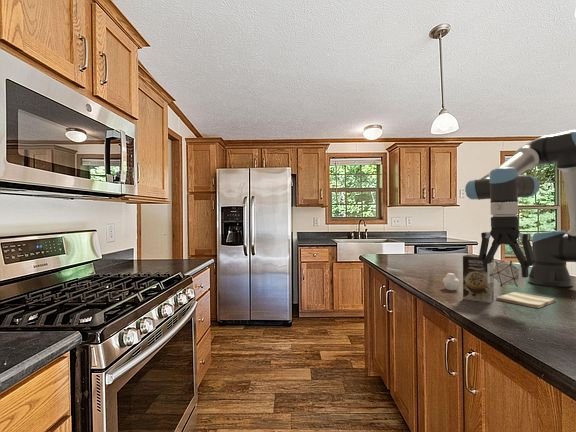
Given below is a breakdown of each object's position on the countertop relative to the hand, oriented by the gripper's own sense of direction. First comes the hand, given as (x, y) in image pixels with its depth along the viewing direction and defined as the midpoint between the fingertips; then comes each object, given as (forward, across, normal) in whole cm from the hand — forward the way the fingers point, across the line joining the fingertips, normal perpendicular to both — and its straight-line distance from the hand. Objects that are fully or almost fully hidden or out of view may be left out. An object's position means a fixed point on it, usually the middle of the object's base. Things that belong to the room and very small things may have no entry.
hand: (506, 284), depth 106 cm
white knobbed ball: (+9, -27, +13) cm, 31 cm away
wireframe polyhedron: (+1, 0, 0) cm, 1 cm away
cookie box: (+9, -12, +6) cm, 16 cm away
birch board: (+9, -2, +18) cm, 20 cm away
